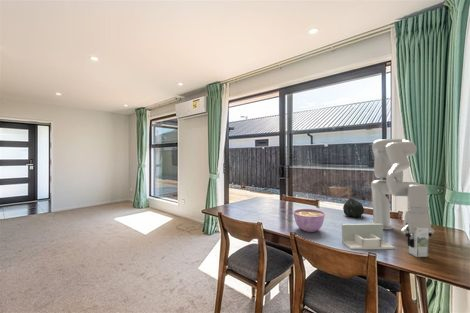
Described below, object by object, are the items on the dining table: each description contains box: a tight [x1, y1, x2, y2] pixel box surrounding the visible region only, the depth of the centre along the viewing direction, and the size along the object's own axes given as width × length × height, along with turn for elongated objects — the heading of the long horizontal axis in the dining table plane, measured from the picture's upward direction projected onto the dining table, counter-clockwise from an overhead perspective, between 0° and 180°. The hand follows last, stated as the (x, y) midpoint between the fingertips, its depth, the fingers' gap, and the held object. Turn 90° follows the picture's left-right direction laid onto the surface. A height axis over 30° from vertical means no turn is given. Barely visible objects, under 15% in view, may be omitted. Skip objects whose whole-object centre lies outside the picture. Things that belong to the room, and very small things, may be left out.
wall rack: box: [341, 223, 395, 250], centre depth 122 cm, size 11×22×10 cm, turn 88°
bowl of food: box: [292, 208, 326, 233], centre depth 148 cm, size 20×20×12 cm
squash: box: [342, 197, 365, 218], centre depth 177 cm, size 14×15×15 cm
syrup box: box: [407, 227, 429, 258], centre depth 109 cm, size 6×6×14 cm
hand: (417, 246), depth 109 cm, fingers closed on syrup box, 5 cm apart
